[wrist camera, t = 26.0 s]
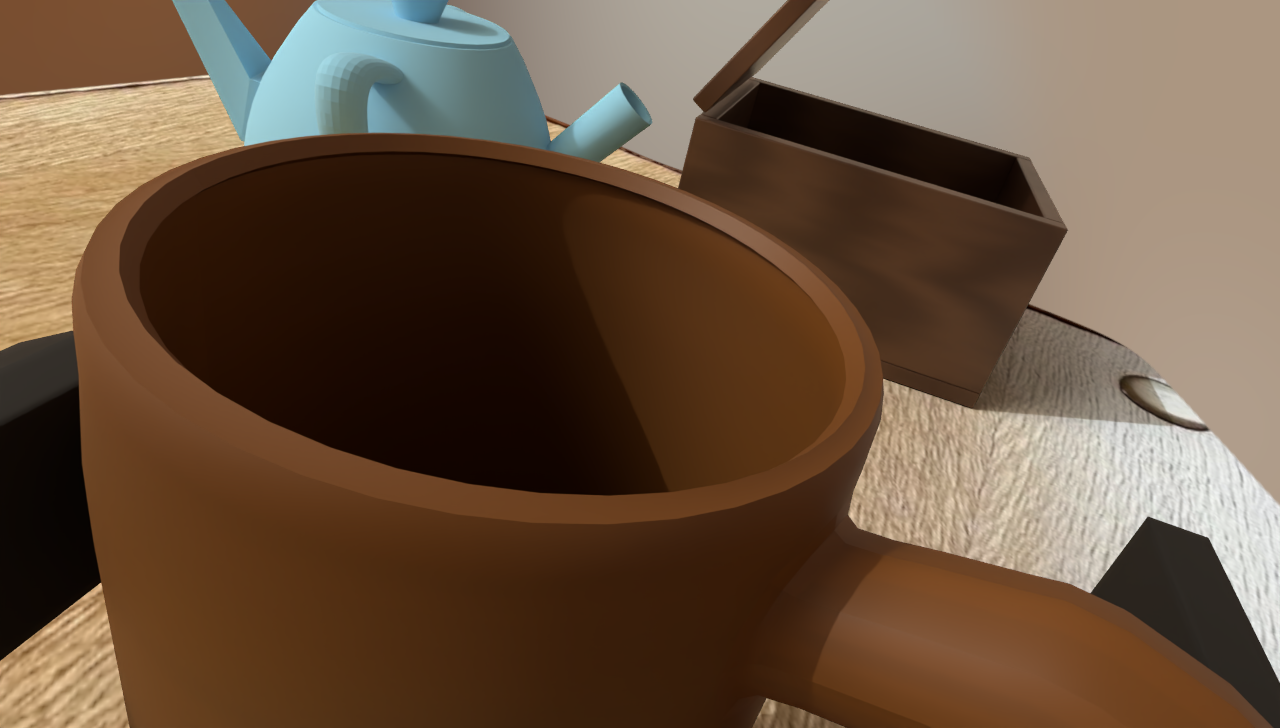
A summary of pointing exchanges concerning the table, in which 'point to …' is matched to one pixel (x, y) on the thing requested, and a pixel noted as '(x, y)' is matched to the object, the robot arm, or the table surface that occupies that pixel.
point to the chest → (888, 223)
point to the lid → (758, 50)
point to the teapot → (392, 78)
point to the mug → (527, 468)
